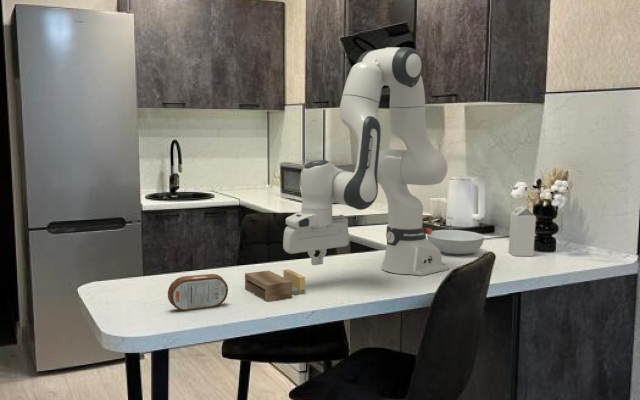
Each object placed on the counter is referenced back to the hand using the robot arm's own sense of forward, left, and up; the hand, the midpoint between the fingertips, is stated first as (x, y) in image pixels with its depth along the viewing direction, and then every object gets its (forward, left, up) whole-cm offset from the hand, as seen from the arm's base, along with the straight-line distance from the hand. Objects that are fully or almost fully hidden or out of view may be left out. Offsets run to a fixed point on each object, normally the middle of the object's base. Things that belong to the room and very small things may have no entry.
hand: (317, 264), depth 174 cm
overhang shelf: (+16, +1, -6) cm, 17 cm away
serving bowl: (-70, -17, -7) cm, 73 cm away
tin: (+38, +5, -7) cm, 38 cm away
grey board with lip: (+13, +1, -7) cm, 14 cm away
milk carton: (-90, -3, -7) cm, 91 cm away
